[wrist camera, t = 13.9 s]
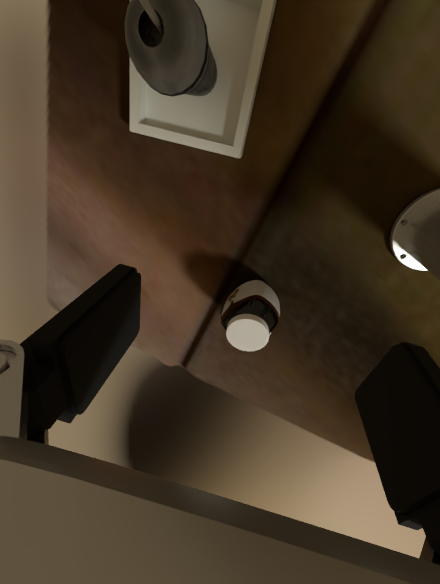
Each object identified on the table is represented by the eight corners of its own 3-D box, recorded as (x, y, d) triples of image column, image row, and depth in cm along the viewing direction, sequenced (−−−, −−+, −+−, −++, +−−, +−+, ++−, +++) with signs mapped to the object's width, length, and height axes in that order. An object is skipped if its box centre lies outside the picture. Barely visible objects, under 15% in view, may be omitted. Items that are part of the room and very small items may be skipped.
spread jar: (259, 268, 45) (256, 304, 36) (296, 309, 48) (302, 351, 39) (214, 301, 51) (200, 339, 41) (249, 335, 54) (244, 378, 44)
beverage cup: (163, 82, 33) (50, 22, 16) (192, 17, 29) (84, -149, 12) (206, 121, 34) (144, 104, 17) (239, 64, 30) (200, -28, 14)
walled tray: (276, -1, 28) (277, -15, 25) (241, 157, 36) (239, 158, 34) (142, -31, 28) (129, -48, 26) (139, 131, 37) (129, 131, 35)
